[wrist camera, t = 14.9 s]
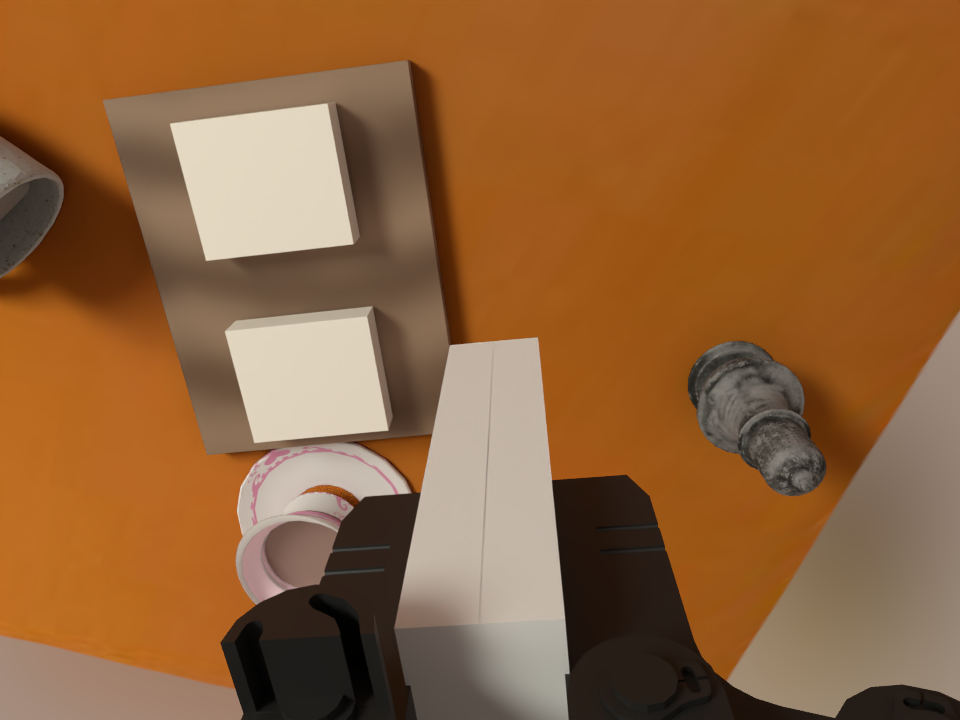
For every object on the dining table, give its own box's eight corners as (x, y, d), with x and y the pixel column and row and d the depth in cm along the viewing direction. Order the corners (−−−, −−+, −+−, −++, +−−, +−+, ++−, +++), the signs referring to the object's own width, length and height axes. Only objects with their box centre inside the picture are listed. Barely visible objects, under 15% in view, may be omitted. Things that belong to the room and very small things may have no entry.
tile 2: (373, 305, 41) (236, 319, 42) (367, 316, 40) (224, 331, 40) (393, 415, 44) (264, 427, 45) (388, 430, 42) (254, 442, 43)
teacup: (203, 484, 48) (162, 541, 42) (354, 403, 45) (332, 452, 40) (308, 612, 52) (283, 680, 46) (453, 544, 49) (446, 607, 43)
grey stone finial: (678, 345, 43) (738, 443, 32) (779, 328, 42) (877, 421, 31) (687, 432, 45) (746, 552, 34) (784, 417, 45) (877, 534, 34)
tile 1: (335, 101, 37) (185, 120, 38) (327, 103, 36) (169, 123, 36) (360, 236, 40) (219, 252, 41) (353, 244, 38) (206, 260, 39)
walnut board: (114, 99, 39) (102, 100, 38) (410, 60, 38) (407, 60, 37) (214, 445, 47) (207, 454, 45) (462, 422, 45) (461, 431, 44)
